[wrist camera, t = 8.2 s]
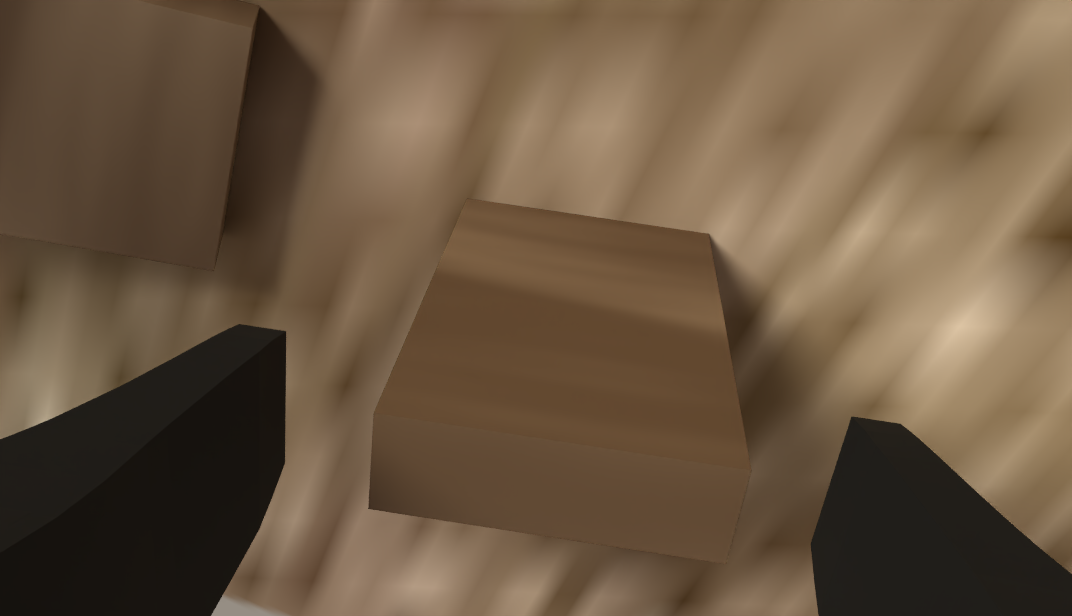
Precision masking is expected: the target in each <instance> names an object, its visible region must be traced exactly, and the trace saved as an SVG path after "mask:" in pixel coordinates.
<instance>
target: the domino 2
mask: <svg viewBox="0 0 1072 616" xmlns="http://www.w3.org/2000/svg"><path fill="white" fill-rule="evenodd" d="M751 471H752V470H751V465H750V459H749V454H748V448H747V443H746V437H745V432H744V426H743V421H742V415H741V410H740V404H739V398H738V393H737V387H736V382H735V376H734V371H733V365H732V360H731V354H730V349H729V343H728V338H727V332H726V326H725V321H724V315H723V310H722V304H721V299H720V293H719V288H718V282H717V277H716V271H715V266H714V260H713V255H712V249H711V243H710V238H709V234H705V233H698V232H692V231H685V230H678V229H671V228H664V227H658V226H651V225H644V224H637V223H630V222H623V221H617V220H610V219H603V218H596V217H589V216H583V215H576V214H569V213H562V212H555V211H548V210H542V209H535V208H528V207H521V206H514V205H508V204H501V203H494V202H487V201H480V200H473V199H467V200H466V202H465V204H464V206H463V209H462V211H461V213H460V216H459V218H458V220H457V223H456V225H455V227H454V229H453V232H452V234H451V236H450V239H449V241H448V243H447V246H446V248H445V250H444V252H443V255H442V257H441V259H440V262H439V264H438V266H437V269H436V271H435V273H434V276H433V278H432V280H431V282H430V285H429V287H428V289H427V292H426V294H425V296H424V299H423V301H422V303H421V305H420V308H419V310H418V312H417V315H416V317H415V319H414V322H413V324H412V326H411V329H410V331H409V333H408V335H407V338H406V340H405V342H404V345H403V347H402V349H401V352H400V354H399V356H398V358H397V361H396V363H395V365H394V368H393V370H392V372H391V375H390V377H389V379H388V382H387V384H386V386H385V388H384V391H383V393H382V395H381V398H380V400H379V402H378V405H377V407H376V409H375V411H374V419H373V436H372V454H371V472H370V490H369V508H368V509H373V510H379V511H386V512H392V513H398V514H405V515H411V516H418V517H424V518H431V519H437V520H444V521H450V522H457V523H463V524H470V525H476V526H483V527H489V528H496V529H502V530H508V531H515V532H521V533H528V534H534V535H541V536H547V537H554V538H560V539H567V540H573V541H580V542H586V543H593V544H599V545H606V546H612V547H618V548H625V549H631V550H638V551H644V552H651V553H657V554H664V555H670V556H677V557H683V558H690V559H696V560H703V561H709V562H716V563H722V564H726V563H727V559H728V556H729V552H730V548H731V545H732V541H733V537H734V533H735V530H736V526H737V522H738V519H739V515H740V511H741V508H742V504H743V500H744V496H745V493H746V489H747V485H748V482H749V478H750V474H751Z"/></svg>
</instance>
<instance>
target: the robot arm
mask: <svg viewBox="0 0 1072 616" xmlns="http://www.w3.org/2000/svg"><path fill="white" fill-rule="evenodd" d="M285 397H286V331H281V330H274V329H267V328H261V327H254V326H248V325H241V324H239V325H236V326H234V327H232V328H229V329H227V330H225V331H223V332H221V333H219V334H217V335H215V336H214V337H212V338H210V339H208V340H206V341H204V342H202V343H200V344H199V345H197V346H195V347H193V348H191V349H189V350H188V351H186V352H184V353H182V354H180V355H178V356H177V357H175V358H173V359H171V360H169V361H167V362H165V363H164V364H162V365H160V366H158V367H156V368H154V369H152V370H150V371H148V372H147V373H145V374H143V375H141V376H139V377H137V378H135V379H133V380H131V381H130V382H128V383H126V384H124V385H122V386H120V387H118V388H116V389H114V390H111V391H109V392H107V393H105V394H103V395H101V396H99V397H97V398H95V399H92V400H90V401H88V402H86V403H84V404H82V405H80V406H78V407H76V408H73V409H71V410H69V411H67V412H65V413H63V414H61V415H59V416H57V417H54V418H52V419H50V420H47V421H45V422H43V423H40V424H38V425H36V426H33V427H31V428H28V429H26V430H23V431H21V432H18V433H16V434H14V435H11V436H8V437H5V438H3V439H0V616H211V615H212V613H213V611H214V609H215V608H216V606H217V604H218V602H219V600H220V599H221V597H222V595H223V593H224V592H225V590H226V588H227V586H228V585H229V583H230V581H231V579H232V577H233V576H234V574H235V572H236V570H237V568H238V567H239V565H240V563H241V561H242V559H243V558H244V556H245V554H246V552H247V550H248V549H249V547H250V545H251V543H252V541H253V539H254V538H255V536H256V534H257V532H258V530H259V528H260V526H261V524H262V521H263V519H264V516H265V514H266V511H267V509H268V506H269V504H270V501H271V499H272V496H273V493H274V491H275V488H276V485H277V483H278V480H279V477H280V475H281V472H282V469H283V467H284V464H285ZM811 551H812V561H813V572H814V582H815V590H816V598H817V606H818V614H819V616H1072V574H1071V573H1070V572H1068V571H1067V570H1066V569H1065V568H1063V567H1062V566H1061V565H1060V564H1059V563H1057V562H1056V561H1055V560H1054V559H1052V558H1051V557H1050V556H1049V555H1047V554H1046V553H1045V552H1044V551H1043V550H1041V549H1040V548H1039V547H1038V546H1037V545H1035V544H1034V543H1033V542H1032V541H1031V540H1030V539H1029V538H1027V537H1026V536H1025V535H1024V534H1023V533H1022V532H1020V531H1019V530H1018V529H1017V528H1016V527H1015V526H1014V525H1012V524H1011V523H1010V522H1009V521H1008V520H1007V519H1006V518H1005V517H1003V516H1002V515H1001V514H1000V513H999V512H998V511H997V510H996V509H995V508H993V507H992V506H991V505H990V504H989V503H988V502H987V501H986V500H985V499H984V498H983V497H981V496H980V495H979V494H978V493H977V492H976V491H975V490H974V489H973V488H972V487H971V486H970V485H968V484H967V483H966V482H965V481H964V480H963V479H962V478H961V477H960V476H959V475H958V474H957V473H956V472H955V471H953V470H952V469H951V468H950V467H949V466H948V465H947V464H946V463H945V462H944V461H943V460H942V459H941V458H940V457H938V456H937V455H936V454H935V453H934V452H933V451H932V450H931V449H930V448H929V447H927V446H926V445H925V444H924V443H923V442H922V441H921V440H920V439H918V438H917V437H916V436H915V435H914V434H913V433H911V432H910V431H909V430H908V429H906V428H905V427H904V426H902V425H901V424H898V423H891V422H885V421H878V420H871V419H865V418H858V417H851V420H850V423H849V426H848V429H847V433H846V436H845V439H844V442H843V445H842V448H841V451H840V454H839V458H838V461H837V464H836V467H835V470H834V473H833V476H832V479H831V482H830V486H829V489H828V492H827V495H826V498H825V501H824V504H823V507H822V510H821V514H820V517H819V520H818V523H817V526H816V529H815V532H814V535H813V538H812V542H811Z"/></svg>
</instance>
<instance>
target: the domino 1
mask: <svg viewBox="0 0 1072 616" xmlns="http://www.w3.org/2000/svg"><path fill="white" fill-rule="evenodd" d="M258 12H259V6H258V5H254V4H250V3H246V2H242V1H238V0H0V234H4V235H10V236H15V237H21V238H27V239H33V240H38V241H44V242H50V243H56V244H61V245H67V246H73V247H78V248H84V249H90V250H96V251H101V252H107V253H113V254H119V255H124V256H130V257H136V258H142V259H147V260H153V261H159V262H165V263H170V264H176V265H182V266H188V267H193V268H199V269H205V270H211V271H214V268H215V264H216V260H217V256H218V252H219V248H220V243H221V239H222V235H223V229H224V223H225V217H226V210H227V204H228V198H229V192H230V186H231V180H232V173H233V167H234V161H235V155H236V149H237V142H238V136H239V130H240V124H241V118H242V111H243V105H244V99H245V93H246V87H247V81H248V74H249V68H250V62H251V56H252V50H253V43H254V37H255V31H256V25H257V19H258Z"/></svg>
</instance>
